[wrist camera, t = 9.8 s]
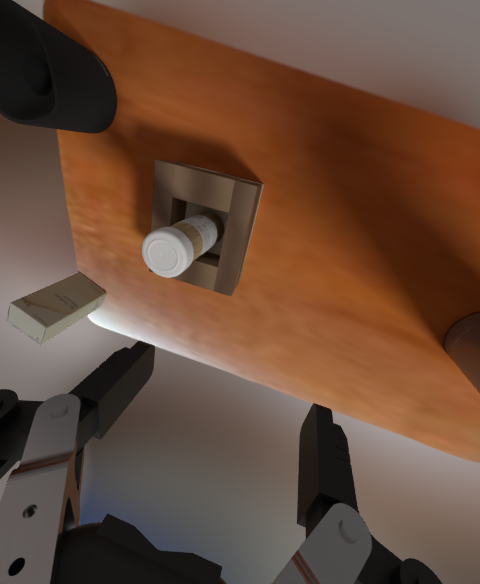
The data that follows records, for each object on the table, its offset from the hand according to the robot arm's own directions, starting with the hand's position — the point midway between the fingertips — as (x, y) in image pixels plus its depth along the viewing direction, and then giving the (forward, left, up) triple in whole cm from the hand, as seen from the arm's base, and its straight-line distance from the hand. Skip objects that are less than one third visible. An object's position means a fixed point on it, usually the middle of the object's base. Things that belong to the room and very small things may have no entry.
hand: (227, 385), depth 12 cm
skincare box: (+31, +18, -27) cm, 44 cm away
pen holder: (+29, -12, -27) cm, 41 cm away
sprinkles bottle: (+9, 0, -25) cm, 27 cm away
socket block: (+10, 0, -26) cm, 28 cm away
